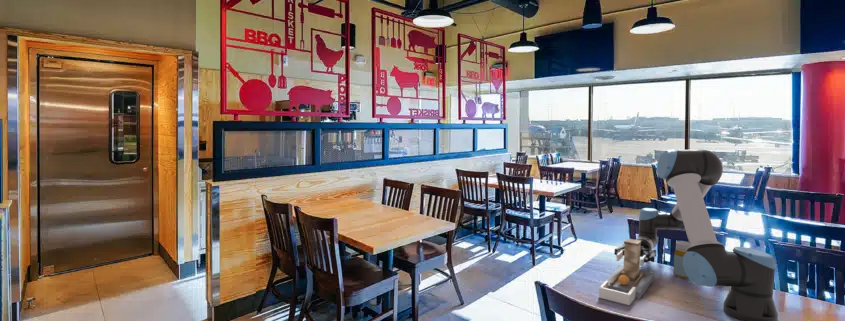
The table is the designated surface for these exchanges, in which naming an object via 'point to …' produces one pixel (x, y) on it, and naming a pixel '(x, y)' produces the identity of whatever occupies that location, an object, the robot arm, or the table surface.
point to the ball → (623, 280)
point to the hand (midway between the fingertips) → (629, 260)
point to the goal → (616, 295)
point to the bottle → (680, 259)
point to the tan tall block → (631, 258)
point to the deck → (631, 282)
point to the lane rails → (632, 284)
